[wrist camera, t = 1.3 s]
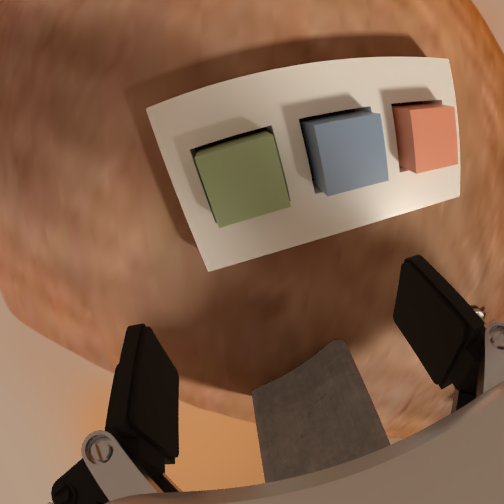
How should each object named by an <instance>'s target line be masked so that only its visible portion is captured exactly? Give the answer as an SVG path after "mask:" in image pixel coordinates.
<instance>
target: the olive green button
mask: <svg viewBox="0 0 504 504" xmlns="http://www.w3.org/2000/svg"><path fill="white" fill-rule="evenodd" d="M195 161H196V164H197V167H198V170H199V173H200V176H201V179H202V181H203V184H204V187H205V190H206V193H207V196H208V198H209V201H210V204H211V207H212V210H213V213H214V215H215V218H216V221H217V224H218V226H219V228H221V227H224V226H227V225H231V224H234V223H237V222H241V221H244V220H247V219H251V218H254V217H257V216H261V215H264V214H268V213H271V212H274V211H278V210H281V209H285V208H288V207H291V205H290V201H289V197H288V193H287V188H286V184H285V180H284V176H283V172H282V168H281V164H280V160H279V156H278V152H277V148H276V144H275V141H274V137H273V135H272V134H271V133H269V132H267V131H262V132H258V133H254V134H250V135H247V136H243V137H240V138H236V139H233V140H230V141H226V142H223V143H220V144H217V145H213V146H210V147H207V148H204V149H201V150H198V151H197V153H196V156H195Z"/></svg>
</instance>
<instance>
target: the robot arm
mask: <svg viewBox="0 0 504 504" xmlns="http://www.w3.org/2000/svg"><path fill="white" fill-rule="evenodd" d="M393 318H394V321H395V323H396V325H397V326H398V328H399V329H400V330H401V332H402V333H403V335H404V336H405V338H406V339H407V341H408V342H409V344H410V345H411V347H412V349H413V350H414V352H415V353H416V355H417V356H418V358H419V359H420V361H421V363H422V364H423V366H424V367H425V369H426V371H427V372H428V374H429V375H430V377H431V379H432V380H433V382H434V383H435V384H439V386H440V388H441V389H443V388H445V387H447V386H449V385H450V384H452V383H453V385H454V386H455V393H454V399H453V405H452V410H451V414H450V415H448V416H446V417H445V418H443V419H441V420H440V421H438V422H436V423H434V424H432V425H431V426H429V427H427V428H425V429H423V430H421V431H419V432H417V433H415V434H413V435H411V436H409V437H407V438H405V439H403V440H401V441H398V442H396V443H394V444H392V445H390V446H387V447H385V448H383V449H380V450H378V451H375V452H373V453H370V454H368V455H365V456H363V457H360V458H357V459H354V460H352V461H349V462H346V463H343V464H340V465H337V466H333V467H330V468H327V469H324V470H320V471H316V472H313V473H309V474H305V475H301V476H297V477H293V478H289V479H284V480H279V481H274V482H269V483H263V484H258V485H252V486H245V487H237V488H228V489H218V490H207V491H192V492H183V491H182V490H181V489H180V488H178V486H176V484H174V482H173V481H172V480H171V479H170V478H169V477H168V476H167V475H166V474H165V464H175V457H178V455H179V435H178V399H179V376H178V372H177V370H176V368H175V367H174V365H173V363H172V362H171V360H170V359H169V357H168V356H167V354H166V352H165V351H164V349H163V348H162V346H161V344H160V343H159V341H158V339H157V338H156V336H155V334H154V333H153V331H152V329H151V328H150V327H146V326H145V325H144V324H138V325H132V326H129V327H128V328H127V331H126V335H125V339H124V343H123V348H122V352H121V357H120V362H119V364H118V365H117V367H116V369H115V374H114V379H113V384H112V389H111V396H110V401H109V406H108V413H107V419H106V426H105V431H102V430H99V431H94V432H93V433H91V434H89V435H88V436H87V437H86V438H85V440H84V442H83V444H82V456H83V458H82V459H81V460H80V461H79V462H78V463H77V464H76V465H74V466H73V467H72V468H71V469H70V470H69V471H67V472H66V473H65V474H64V475H63V476H61V477H60V478H59V479H58V480H57V481H56V482H55V483H54V485H53V487H52V492H51V494H52V500H53V503H51V502H49V503H48V504H504V323H501V322H496V320H495V319H493V320H492V321H490V322H489V323H488V324H487V323H486V322H485V321H484V314H483V313H482V311H481V310H480V309H478V308H474V309H472V307H471V306H470V305H469V304H468V303H467V302H466V301H465V300H464V299H463V298H462V296H461V295H460V294H459V293H458V292H457V291H456V290H455V289H454V288H453V287H452V286H451V285H450V284H449V283H448V282H447V281H446V280H445V279H444V278H443V277H442V276H441V275H440V274H439V273H438V272H437V271H436V270H435V269H434V268H433V267H432V266H431V265H430V264H429V263H428V262H427V261H426V260H425V259H424V258H423V257H422V256H420V255H416V256H412V257H409V258H406V259H405V261H404V263H403V264H402V266H401V272H400V279H399V285H398V291H397V297H396V303H395V308H394V313H393Z"/></svg>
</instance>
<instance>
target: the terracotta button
mask: <svg viewBox="0 0 504 504" xmlns="http://www.w3.org/2000/svg"><path fill="white" fill-rule="evenodd" d="M392 112H393V119H394V126H395V133H396V141H397V149H398V159H399V166H401V167H403V168H405V169H407V170H410V171H412V172H414V173H416V174H418V173H422V172H426V171H430V170H434V169H439V168H443V167H448V166H452V165H456V164H458V148H457V131H456V119H455V109H454V107H453V106H447V105H441V104H435V103H426V104H414V105H403V106H394V107H392Z"/></svg>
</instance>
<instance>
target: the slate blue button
mask: <svg viewBox="0 0 504 504" xmlns="http://www.w3.org/2000/svg"><path fill="white" fill-rule="evenodd" d="M301 125H302V129H303V133H304V137H305V142H306V146H307V151H308V155H309V160H310V165H311V169H312V174H313V179H314V184H315V185H316V186H317V187H318V188H319V189H320V190H321V191H323V192H324V193H325V194H326V195H327V196H331V195H335V194H339V193H343V192H346V191H350V190H354V189H358V188H362V187H365V186H369V185H373V184H377V183H381V182H385V181H389V177H388V167H387V157H386V149H385V141H384V134H383V127H382V121H381V115H380V114H379V113H373V112H366V111H357V112H350V113H344V114H339V115H333V116H328V117H323V118H318V119H313V120H308V121H303V122H301Z"/></svg>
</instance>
